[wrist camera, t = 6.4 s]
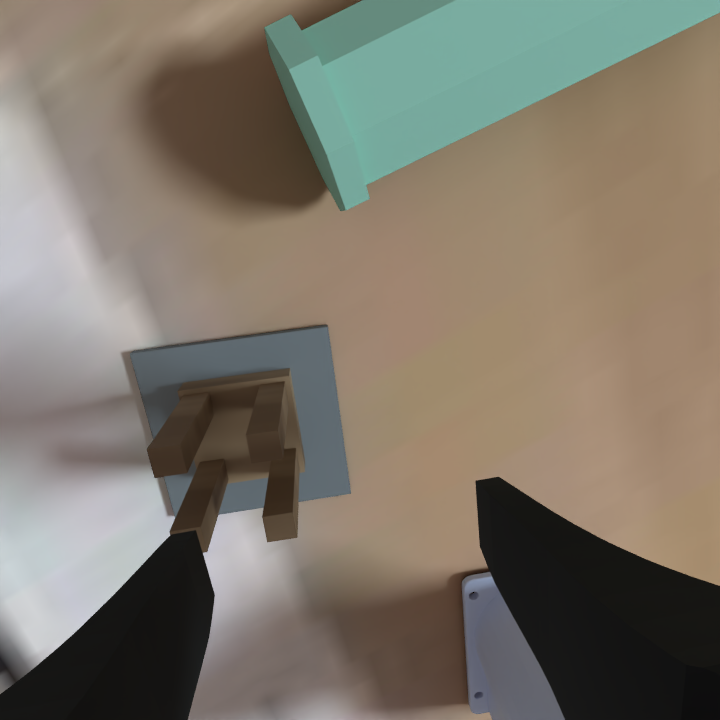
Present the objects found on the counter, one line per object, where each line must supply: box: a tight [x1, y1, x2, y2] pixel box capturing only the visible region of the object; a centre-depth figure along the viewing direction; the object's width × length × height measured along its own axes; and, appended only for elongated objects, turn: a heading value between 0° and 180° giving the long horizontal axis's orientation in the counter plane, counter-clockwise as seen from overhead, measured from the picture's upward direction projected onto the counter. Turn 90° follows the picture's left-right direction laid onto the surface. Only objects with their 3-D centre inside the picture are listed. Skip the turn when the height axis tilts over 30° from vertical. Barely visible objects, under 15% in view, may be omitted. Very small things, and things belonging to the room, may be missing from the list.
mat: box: [130, 325, 351, 518], centre depth 21 cm, size 8×8×1 cm
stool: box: [147, 368, 305, 553], centre depth 18 cm, size 4×4×6 cm
